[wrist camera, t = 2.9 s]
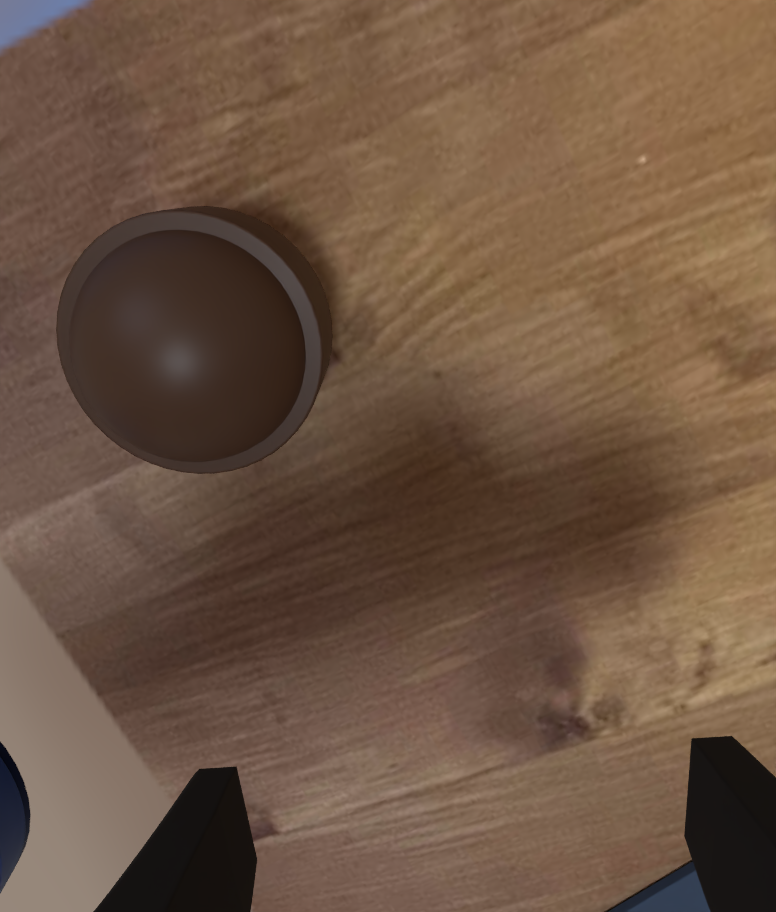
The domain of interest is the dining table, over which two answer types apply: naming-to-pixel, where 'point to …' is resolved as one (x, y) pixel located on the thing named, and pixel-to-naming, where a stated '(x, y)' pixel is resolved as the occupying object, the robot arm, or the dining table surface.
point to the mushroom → (194, 337)
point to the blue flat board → (670, 895)
